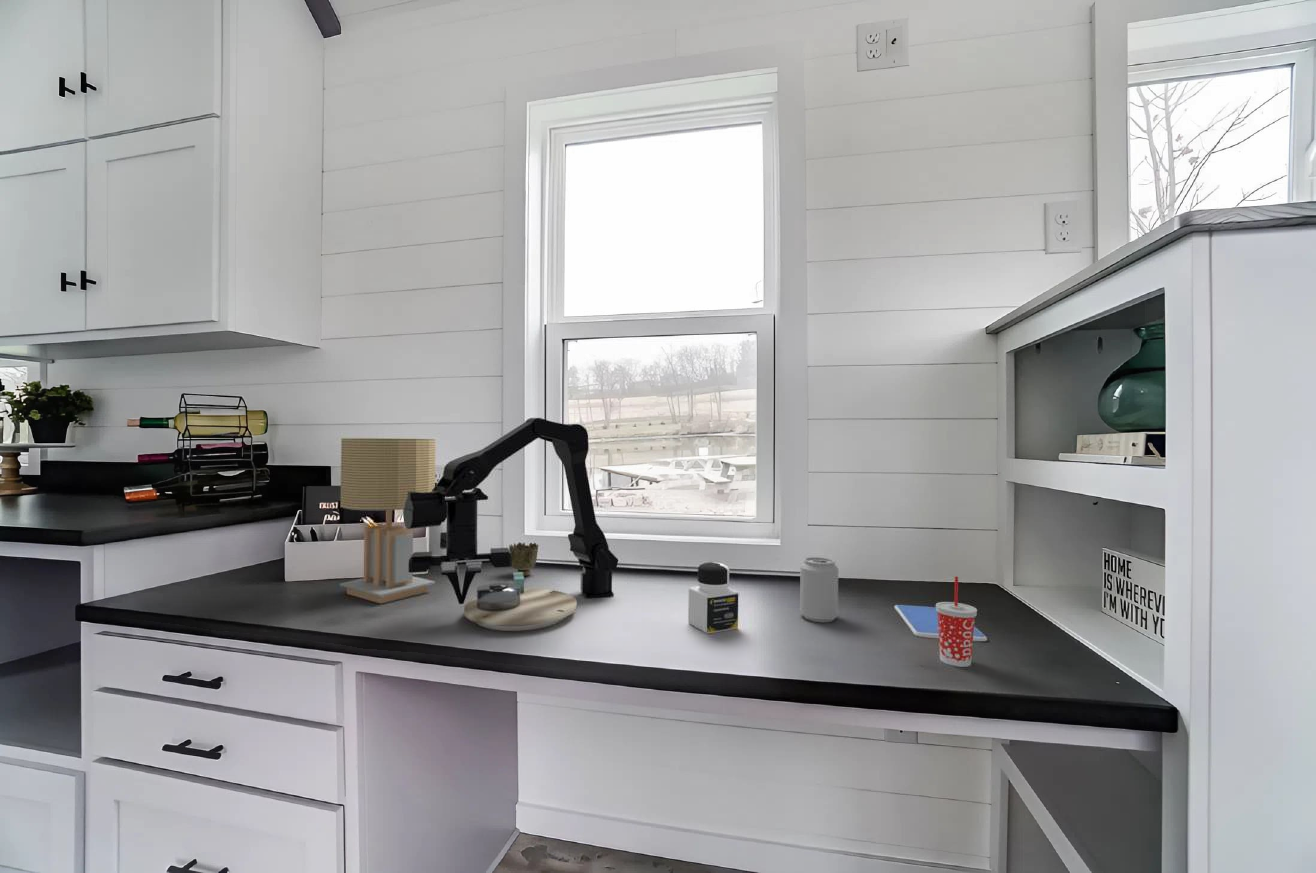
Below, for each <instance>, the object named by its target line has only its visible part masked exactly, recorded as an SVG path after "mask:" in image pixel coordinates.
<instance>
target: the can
mask: <svg viewBox="0 0 1316 873" xmlns="http://www.w3.org/2000/svg"><path fill="white" fill-rule="evenodd" d="M835 563H836V560H834V559H833V558H828V557H822V556H808V557H805V558H803V563H802V564H801V565H800V575H799V576H800V577H799V578H800V582H799V583H800V584H799V585H800V586H799V587H800V588H799V591H800V592H799V613H800V614H801V616H802V617H803V618H804V619H805V620H808V621H811V622H816V623H830V622H833V621H834V620H835V619H836V618H837V617H839V616H838V615H839V613H838V612H839V568H838V566H837V565H836V564H835Z"/></svg>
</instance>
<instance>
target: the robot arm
mask: <svg viewBox="0 0 1316 873" xmlns="http://www.w3.org/2000/svg"><path fill="white" fill-rule="evenodd" d="M537 439H540V440H543V441H546V442H550V443H552V446H553V448H554V451H555V454H556V455H557V457H558V459H559V460H560V461H561V463H562V465H563V467H564V472H565V478H566V483H567V488H568V493H569V499H570V504H571V510H572V514H573V515H572V516H573V520H574V530H573V532H572V533H569V534H567V538H568V539H567V540H568V541H569V546H570V547H569V551H570V552H571V553H573V556H574V557H576V558H577V561H578V564H579V565H580V566H582V572H581V573H580V588H579V589H580V592H581V593H582V594H583V595H584V596H583V597H584V598H587V599H588V598H599V597H600V598H602V597H612V596H614V595H615V594H614V592H613V570H616V569H617V567H618V564H619V559H618V557H616V556H615V554H613V552H612V551H611V550H610V548H609V544H608V541H607V538H606V536H605V533H604V531H603V530H602V529H601V527H600V525H599V524H598V522H597V517H596V514H595V512H596V511H595V508H594V503H593V498H592V497H593V496H592V493H591V487H590V481H589V476H588V471H587V465H586V460H587V457H588V452H589V448H590V447H589V433H588V430H587V428H586V427H585V426H582V425H581V424H579V423H560V422H555V421H551V420H547V419H545V418H543V417H530V418H527V420H526V421H524V422H523V423H522V424H520V425H519V426H517V427H516V428H514V429H512V430H510V431H509V432H507V433H506V434H504V435H503V436H501V437H499V438H497V439H496V440H495V441H493V442H492V443H489V444H488V445H487V446H485V447H484V448H481V449H480V450H477V451H475V452H472V453H468V454H464V455H462V456H459V457H458V458H455V459H453V460H451V461H449V462H448V463H446V465H445V466H444V467H443V472H442V476H441V477H440V479H439V480H438V481H437V482H436V483H435V487H434V488H433V490H432V492H408V494H407V500H406V502H405V508H403V509H402V513H403V514H402V516H403V523H404V526H405V528H407V529H413V530H414V529H422V528H432V527H440V526H441V525H442V523H446V531H445V532H440V537H439V548H440V550H445V552H446V554H445V555H434V551H416V552H414V551H413V554H412V555H411V557H410V559H409V572H410V573H427V572H428V571H429V570H430V568H432V567H438V566H440V568H441V571H440V574H441V576H446V577H447V579H448V581H449V582H450V585H451V586H452V588H453V591H454V593H455V596H456V599H457V602H458V605H465V600H466V598H467V594H468V591H469V589H470V587H471V584H472V581H473V580H474V578H475V576H476V574H480V573H482V565H483V564H491V565H492V566H493V568H496V569H497V568H509V567H513V566H512V556H511V551H510V550H509V547H495V548H494V547H492V548H490V549H489V550H490V551H489V553H488V552H486V553H478V501H488V499H489V496H488V495H487V494H485V493H484V492H483V491H482V489H481V487H479V485H480V484H481V483H483V481H485V479H487V478H488V476H489V475H490V474H491V472H492V471H493V470H494V468H496V467H497V466H498V465H499V464H501V463H503V462H504V461H505V460H507V459H509V458H510V457H512V456H514V455H515V454H516V453H518V452H519V451H521V450H523V449H524V448H525V447H526V446H528V445H530V444H531V443H533V442H534V441H536V440H537ZM459 565H465V569H464V576H463V582H462V586H461V579H460V571H459ZM461 587H462V589H461Z"/></svg>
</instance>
